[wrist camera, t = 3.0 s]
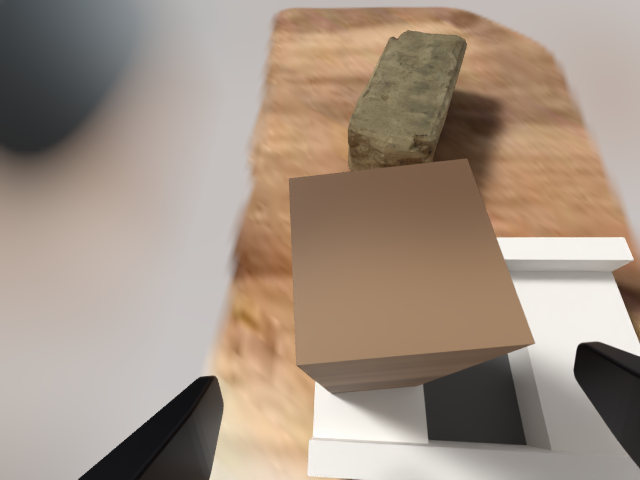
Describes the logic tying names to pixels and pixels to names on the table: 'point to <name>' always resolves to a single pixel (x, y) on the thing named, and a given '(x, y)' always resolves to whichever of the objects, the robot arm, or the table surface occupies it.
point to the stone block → (405, 101)
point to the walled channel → (498, 389)
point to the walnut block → (398, 277)
